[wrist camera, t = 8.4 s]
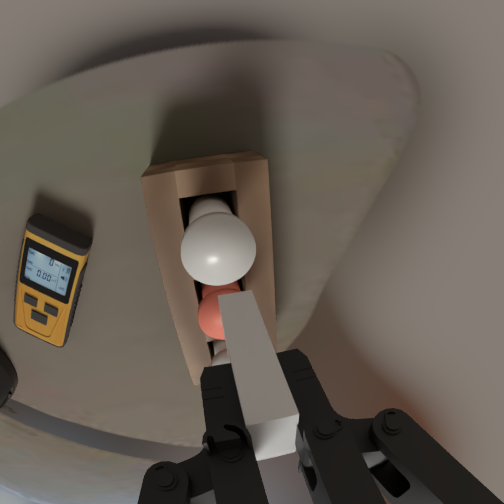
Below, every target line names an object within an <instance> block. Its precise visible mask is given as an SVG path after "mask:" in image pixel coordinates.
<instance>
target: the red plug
mask: <svg viewBox="0 0 504 504" xmlns="http://www.w3.org/2000/svg"><path fill="white" fill-rule="evenodd" d="M201 288H202V296H203V299H202V301H201V302H200V304H199V307H198V321H199V325H200V328H201V329H202V331H203V332H204V333H205V334H207V335H208V336H210V337H212V338H215V339H221V340H225V337H224V331H223V325H222V319H221V313H220V307H219V301H218V295H224V294H230V293H236V292H242V291H240V288H239V285H238V281H237V280H236V281H234V282H232V283H229V284H226V285H219V286H214V285H208V284H204V283H201Z"/></svg>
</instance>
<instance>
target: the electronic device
mask: <svg viewBox="0 0 504 504" xmlns="http://www.w3.org/2000/svg"><path fill="white" fill-rule="evenodd" d="M91 245H92V239H91V238H89V237H87V236H84V235H82V234H80V233H78V232H76V231H73V230H71V229H69V228H67V227H65V226H63V225H61V224H58V223H56V222H54V221H52V220H50V219H48V218H46V217H44V216H42V215H40V214H35V215H33V216H32V217H31V218H29V219H28V221H27V225H26V232H25V237H24V239H23V241H22V246H21V252H20V258H19V265H18V271H17V280H16V290H15V299H14V301H15V303H14V320H13V321H14V324H15V326H16V327H17V328H18V329H20V330H22V331H24V332H26V333H28V334H30V335H32V336H34V337H36V338H38V339H41V340H43V341H45V342H47V343H49V344H52V345H54V346H56V347H60V348H61V347H63V346H64V345H65V344H66V342H67V339H68V337H69V332H70V327H71V326H72V323H73V319H74V315H75V310H76V306H77V302H78V298H79V296H80V291H81V287H82V279H83V276H84V273H85V269H86V266H87V262H86V261H87V257H88V254H89V251H90V248H91Z"/></svg>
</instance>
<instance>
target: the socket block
mask: <svg viewBox="0 0 504 504" xmlns="http://www.w3.org/2000/svg"><path fill="white" fill-rule="evenodd" d="M141 183H142V188H143V194H144V199H145V204H146V209H147V214H148V219H149V224H150V229H151V233H152V238H153V242H154V247H155V251H156V255H157V260H158V264H159V268H160V272H161V276H162V280H163V284H164V288H165V291H166V295H167V299H168V303H169V306H170V310H171V313H172V317H173V320H174V324H175V327H176V330H177V334H178V337H179V340H180V344H181V347H182V350H183V353H184V356H185V359H186V362H187V365H188V368H189V371H190V374H191V377H192V380H193V383H194V386H197V385H201V383H200V377H201V374H202V372H203V369H204V367H208V366H211V361H212V359H213V357H214V356H215V353H214V347H213V341H215V340H221V339H215V338H212V337H210V336H208V335H207V334H205V333H204V332H203V331H202V329H201V328H200V325H199V321H198V307H199V304H200V302H201V301H202V299H203V296H202V288H201V287H199V288H198V283H197V280H196V279H194V278H193V277H192V276H191V275H189V273H188V272H187V271H186V269H185V268H184V265H183V263H182V260H181V241H182V237H183V234H184V232H185V230H186V228H187V227H188V226H187V223H186V217H185V211H184V204H183V198H184V197H191V196H197V195H204V194H210V193H217V192H224V191H228V193H229V203H230V210H231V212H232V214H233V215H235V216H237V217H238V218H240V219H241V220H242V221H244V223H245V224H246V225H247V226H248V228H249V229H250V231H251V233H252V235H253V237H254V240H255V243H256V256H255V259H254V262H253V264H252V266H251V268H250V269H249V270H248V272H247V273H246V274H245V275H244V276H242V277H241V278H240V279H238V285H239V288H240V291H248V290H252V293H253V295H254V298H255V301H256V303H257V306H258V308H259V311H260V314H261V316H262V319H263V322H264V324H265V327H266V330H267V332H268V335H269V337H270V340H271V343H272V345H273V348H274V350H275V353H277V338H276V311H275V286H274V264H273V244H272V225H271V207H270V190H269V173H268V159H266V158H264V157H263V156H261V155H259V154H257V153H255V152H253V151H244V152H235V153H226V154H218V155H211V156H203V157H196V158H190V159H183V160H177V161H171V162H165V163H159V164H154V165H150V166H149V167H148V168H147V169H146V171H145V172H144V173H143V175H142V176H141Z"/></svg>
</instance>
